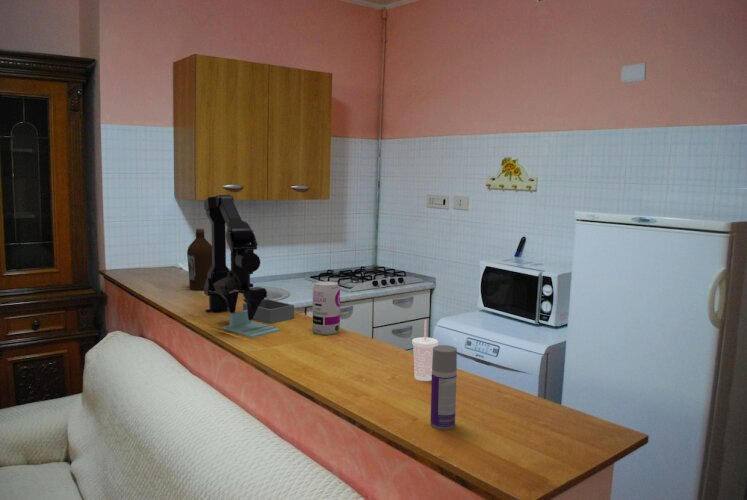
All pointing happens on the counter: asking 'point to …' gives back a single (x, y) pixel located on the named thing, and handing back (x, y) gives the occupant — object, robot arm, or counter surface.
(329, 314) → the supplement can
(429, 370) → the beverage cup
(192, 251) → the olive oil
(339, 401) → the counter surface
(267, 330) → the lid
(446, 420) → the container
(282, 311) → the tub
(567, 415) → the counter surface
